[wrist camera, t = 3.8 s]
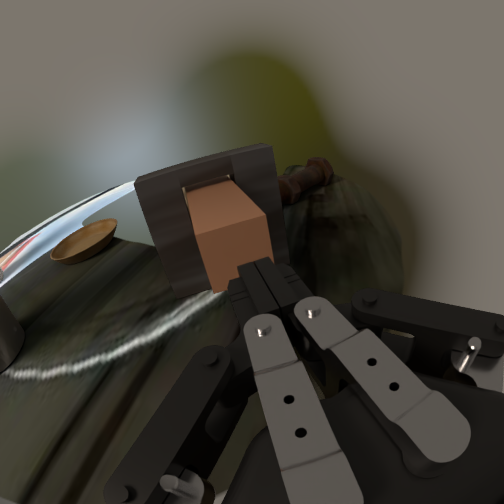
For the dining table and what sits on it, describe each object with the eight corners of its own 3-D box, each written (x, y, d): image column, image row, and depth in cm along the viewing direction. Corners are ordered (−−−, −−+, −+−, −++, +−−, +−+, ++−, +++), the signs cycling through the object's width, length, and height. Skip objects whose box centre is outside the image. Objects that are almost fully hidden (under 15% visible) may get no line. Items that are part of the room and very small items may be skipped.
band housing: (290, 263, 28) (271, 145, 22) (176, 299, 26) (133, 183, 21) (249, 213, 42) (233, 136, 36) (173, 236, 40) (149, 159, 34)
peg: (276, 273, 17) (265, 214, 15) (213, 293, 17) (195, 235, 15) (232, 209, 28) (223, 172, 26) (194, 220, 28) (184, 183, 26)
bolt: (268, 222, 43) (320, 188, 50) (287, 212, 38) (339, 178, 46) (248, 190, 42) (304, 162, 50) (265, 177, 38) (322, 150, 46)
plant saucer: (110, 258, 39) (103, 244, 37) (44, 279, 38) (38, 266, 36) (129, 223, 51) (125, 211, 50) (72, 242, 50) (67, 231, 49)
